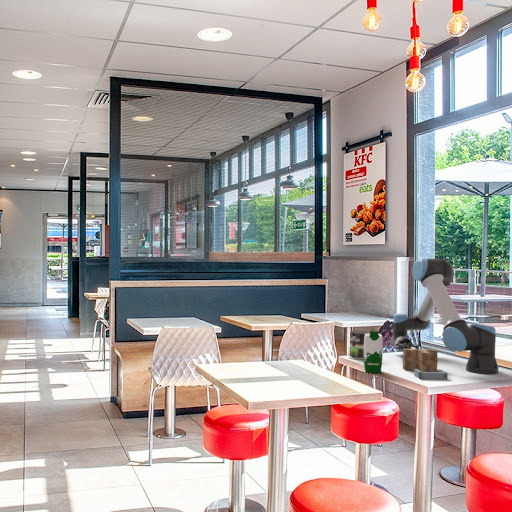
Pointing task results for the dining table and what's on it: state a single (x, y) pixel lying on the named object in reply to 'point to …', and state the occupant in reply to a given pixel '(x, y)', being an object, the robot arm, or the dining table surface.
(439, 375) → the tray
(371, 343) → the milk carton
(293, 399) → the dining table surface
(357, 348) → the coffee can
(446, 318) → the robot arm
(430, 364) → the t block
